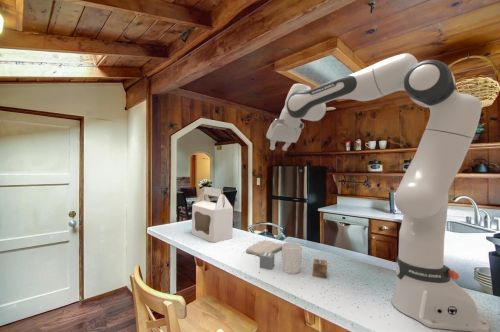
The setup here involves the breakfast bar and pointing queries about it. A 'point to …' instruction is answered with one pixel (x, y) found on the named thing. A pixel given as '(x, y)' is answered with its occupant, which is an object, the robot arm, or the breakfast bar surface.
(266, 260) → the slate-grey block
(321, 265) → the walnut block
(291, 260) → the white cup
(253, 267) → the breakfast bar surface
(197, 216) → the gable box
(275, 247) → the washcloth
